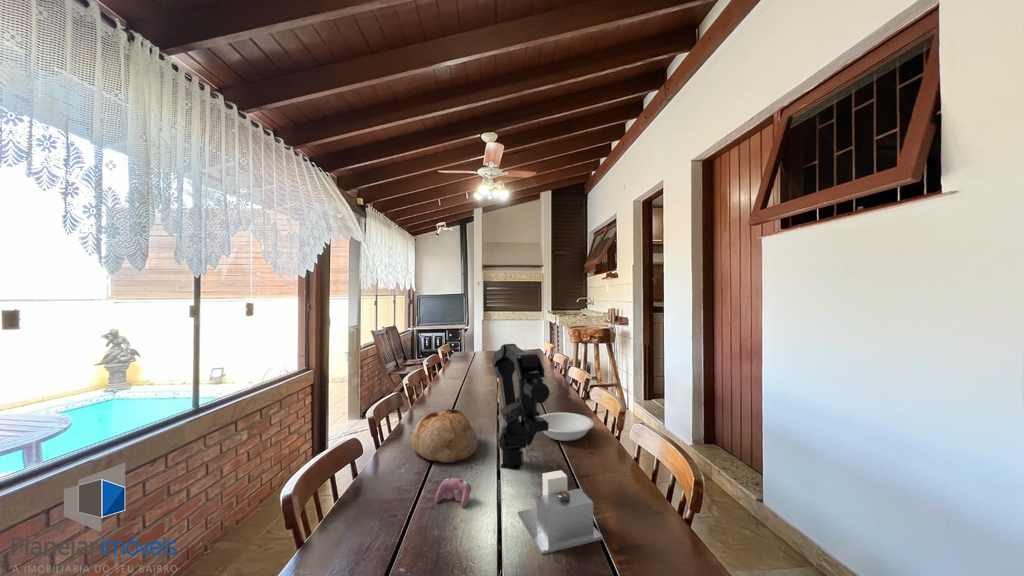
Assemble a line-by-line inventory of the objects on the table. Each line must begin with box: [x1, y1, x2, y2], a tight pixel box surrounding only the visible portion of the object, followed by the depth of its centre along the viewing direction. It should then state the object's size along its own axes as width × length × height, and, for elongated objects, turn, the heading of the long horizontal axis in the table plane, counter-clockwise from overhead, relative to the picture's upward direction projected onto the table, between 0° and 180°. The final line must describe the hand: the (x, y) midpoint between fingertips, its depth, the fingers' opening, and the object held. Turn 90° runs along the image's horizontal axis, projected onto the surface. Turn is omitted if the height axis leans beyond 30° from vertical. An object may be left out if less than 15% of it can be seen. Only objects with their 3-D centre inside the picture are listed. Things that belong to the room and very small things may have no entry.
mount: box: [517, 488, 603, 555], centre depth 97 cm, size 16×16×10 cm
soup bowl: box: [539, 411, 595, 442], centre depth 156 cm, size 24×24×7 cm
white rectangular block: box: [541, 470, 568, 496], centre depth 95 cm, size 10×6×12 cm, turn 18°
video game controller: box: [434, 477, 472, 509], centre depth 109 cm, size 10×5×7 cm, turn 72°
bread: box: [409, 408, 479, 464], centre depth 144 cm, size 26×23×15 cm
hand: (528, 444), depth 116 cm, fingers closed
